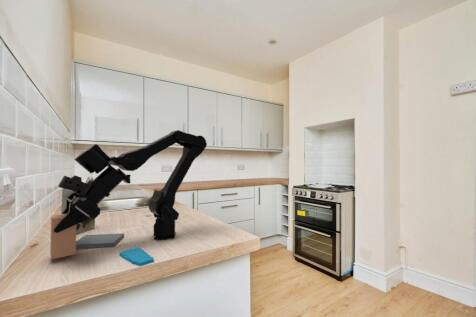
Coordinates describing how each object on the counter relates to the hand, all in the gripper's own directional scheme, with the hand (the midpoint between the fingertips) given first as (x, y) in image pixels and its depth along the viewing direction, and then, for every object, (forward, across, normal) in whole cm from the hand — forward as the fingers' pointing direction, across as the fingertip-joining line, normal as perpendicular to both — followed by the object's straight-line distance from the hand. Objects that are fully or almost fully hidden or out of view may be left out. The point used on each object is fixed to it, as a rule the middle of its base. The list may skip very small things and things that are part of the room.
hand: (54, 229), depth 59 cm
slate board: (-3, -8, +14) cm, 16 cm away
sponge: (-6, +12, +18) cm, 22 cm away
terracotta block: (+3, 0, +6) cm, 7 cm away
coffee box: (0, -28, +12) cm, 30 cm away
